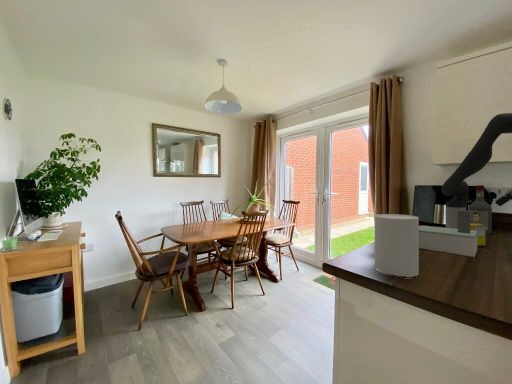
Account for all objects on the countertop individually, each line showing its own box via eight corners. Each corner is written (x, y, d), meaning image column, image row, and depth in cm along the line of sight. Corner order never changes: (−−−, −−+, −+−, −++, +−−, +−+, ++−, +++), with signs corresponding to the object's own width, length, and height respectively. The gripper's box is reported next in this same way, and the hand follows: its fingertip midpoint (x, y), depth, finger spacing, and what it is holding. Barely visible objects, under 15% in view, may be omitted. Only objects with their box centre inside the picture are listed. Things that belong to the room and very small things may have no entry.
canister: (420, 281, 72) (420, 220, 72) (373, 273, 79) (373, 217, 79) (416, 268, 83) (416, 215, 83) (376, 262, 91) (375, 213, 90)
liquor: (473, 230, 147) (474, 185, 146) (492, 233, 139) (493, 185, 138) (466, 232, 143) (467, 185, 142) (486, 234, 135) (486, 185, 134)
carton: (413, 247, 111) (413, 231, 111) (420, 241, 122) (420, 227, 122) (474, 257, 95) (474, 238, 95) (477, 249, 106) (477, 232, 105)
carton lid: (413, 231, 111) (413, 209, 111) (420, 226, 122) (420, 207, 121) (474, 238, 95) (475, 212, 94) (477, 232, 105) (477, 209, 105)
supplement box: (475, 243, 115) (475, 223, 115) (485, 247, 109) (486, 225, 109) (462, 243, 116) (462, 223, 116) (472, 247, 110) (472, 225, 110)
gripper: (528, 170, 93) (488, 196, 102) (532, 168, 83) (487, 198, 92) (549, 182, 89) (506, 209, 98) (555, 182, 80) (506, 211, 88)
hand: (497, 203), depth 95 cm, fingers open, 8 cm apart
